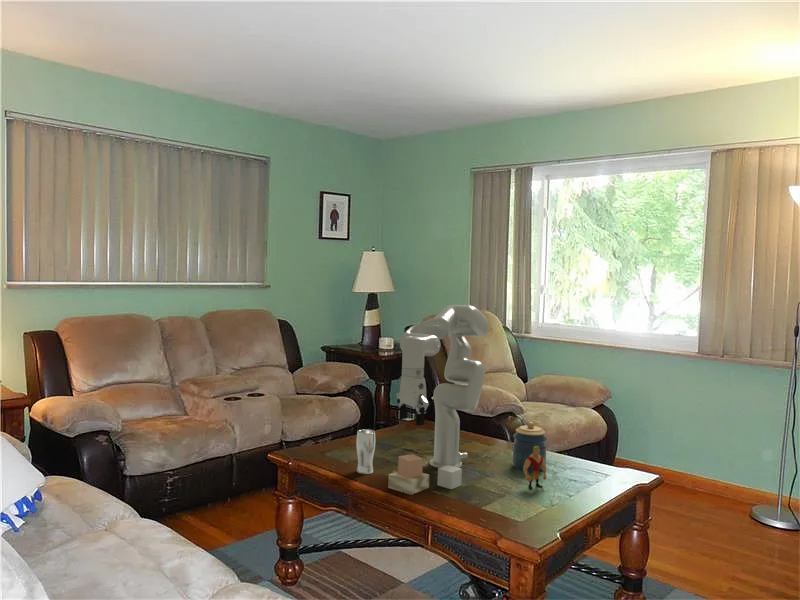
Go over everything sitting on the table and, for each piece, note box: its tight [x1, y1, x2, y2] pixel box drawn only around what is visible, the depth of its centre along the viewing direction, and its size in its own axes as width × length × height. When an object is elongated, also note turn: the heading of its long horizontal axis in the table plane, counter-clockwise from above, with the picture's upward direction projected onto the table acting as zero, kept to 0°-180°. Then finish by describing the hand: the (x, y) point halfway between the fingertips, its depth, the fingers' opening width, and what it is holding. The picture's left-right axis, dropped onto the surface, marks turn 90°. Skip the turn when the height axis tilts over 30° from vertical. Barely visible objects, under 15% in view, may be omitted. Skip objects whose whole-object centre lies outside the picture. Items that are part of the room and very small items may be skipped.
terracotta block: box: [397, 453, 424, 478], centre depth 220 cm, size 6×6×6 cm
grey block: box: [437, 465, 463, 490], centre depth 224 cm, size 6×6×6 cm
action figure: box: [522, 446, 547, 490], centre depth 224 cm, size 10×4×15 cm, turn 114°
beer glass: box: [356, 428, 376, 475], centre depth 235 cm, size 7×7×15 cm
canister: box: [511, 421, 548, 472], centre depth 248 cm, size 13×13×18 cm
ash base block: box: [387, 470, 430, 496], centre depth 220 cm, size 10×10×5 cm
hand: (411, 421), depth 219 cm, fingers open, 9 cm apart
